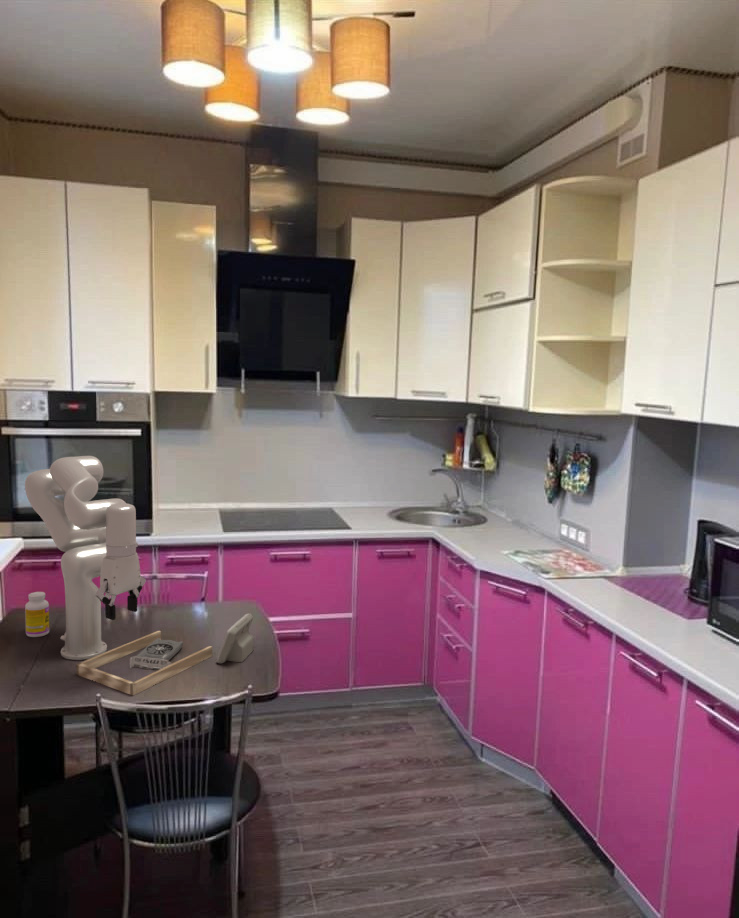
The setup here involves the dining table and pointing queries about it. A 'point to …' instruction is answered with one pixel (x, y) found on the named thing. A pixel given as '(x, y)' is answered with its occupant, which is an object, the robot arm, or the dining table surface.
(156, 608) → the dining table surface
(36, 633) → the supplement bottle
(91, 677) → the wooden u-shaped frame
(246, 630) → the digital clock
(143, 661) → the graphics card
